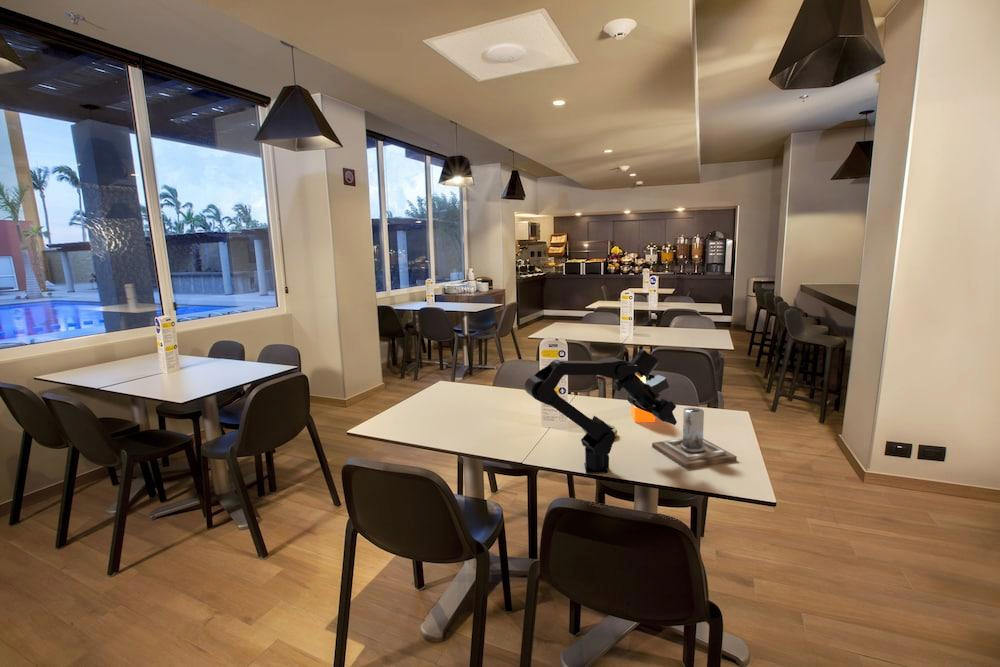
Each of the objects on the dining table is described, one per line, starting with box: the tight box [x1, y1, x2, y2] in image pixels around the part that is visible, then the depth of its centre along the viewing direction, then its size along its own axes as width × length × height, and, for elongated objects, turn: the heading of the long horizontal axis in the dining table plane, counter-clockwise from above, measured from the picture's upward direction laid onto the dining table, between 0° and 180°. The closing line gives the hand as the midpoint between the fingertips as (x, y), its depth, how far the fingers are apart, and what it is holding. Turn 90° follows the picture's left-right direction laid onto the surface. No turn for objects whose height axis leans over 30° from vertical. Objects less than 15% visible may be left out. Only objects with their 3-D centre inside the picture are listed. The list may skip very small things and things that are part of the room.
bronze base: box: [651, 437, 738, 470], centre depth 154 cm, size 18×18×2 cm
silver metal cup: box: [681, 407, 705, 454], centre depth 153 cm, size 7×7×13 cm
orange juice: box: [630, 374, 656, 423], centre depth 187 cm, size 8×9×20 cm
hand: (666, 418), depth 149 cm, fingers open, 9 cm apart
